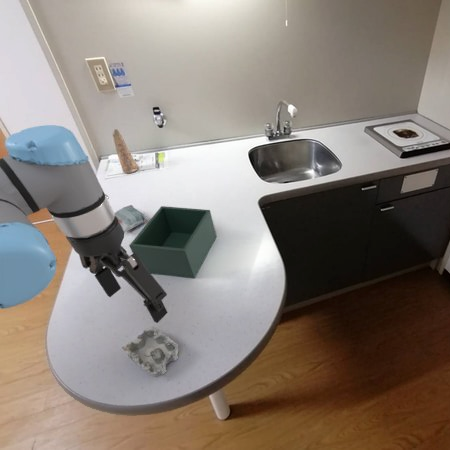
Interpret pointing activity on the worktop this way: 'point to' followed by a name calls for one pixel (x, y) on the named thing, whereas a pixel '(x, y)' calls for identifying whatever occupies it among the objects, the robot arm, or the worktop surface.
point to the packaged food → (130, 217)
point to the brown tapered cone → (124, 154)
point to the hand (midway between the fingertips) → (137, 304)
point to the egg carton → (152, 351)
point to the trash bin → (175, 241)
